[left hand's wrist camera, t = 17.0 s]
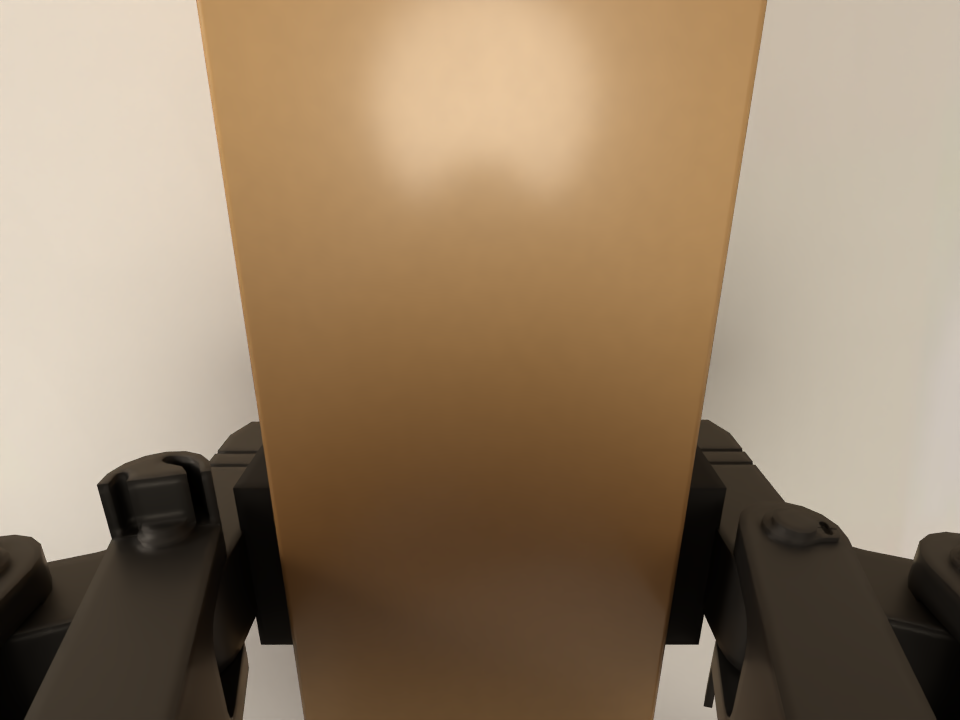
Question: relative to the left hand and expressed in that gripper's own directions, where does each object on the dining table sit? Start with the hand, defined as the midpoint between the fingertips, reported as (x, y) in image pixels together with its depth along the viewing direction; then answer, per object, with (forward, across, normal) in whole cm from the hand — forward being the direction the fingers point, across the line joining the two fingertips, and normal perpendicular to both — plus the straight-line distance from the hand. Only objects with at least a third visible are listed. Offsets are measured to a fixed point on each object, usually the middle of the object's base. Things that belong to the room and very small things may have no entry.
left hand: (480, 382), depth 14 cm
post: (+1, 0, -30) cm, 30 cm away
